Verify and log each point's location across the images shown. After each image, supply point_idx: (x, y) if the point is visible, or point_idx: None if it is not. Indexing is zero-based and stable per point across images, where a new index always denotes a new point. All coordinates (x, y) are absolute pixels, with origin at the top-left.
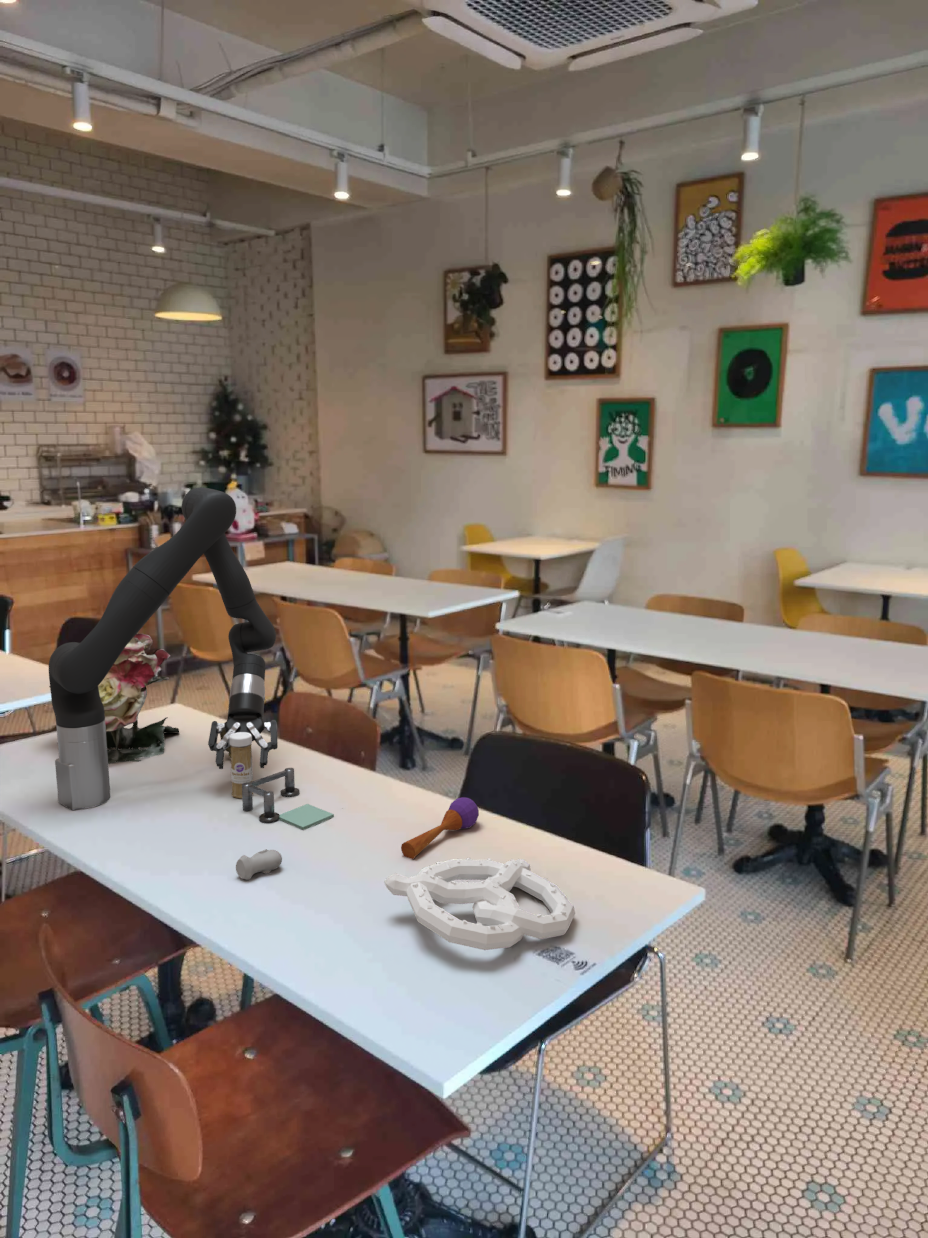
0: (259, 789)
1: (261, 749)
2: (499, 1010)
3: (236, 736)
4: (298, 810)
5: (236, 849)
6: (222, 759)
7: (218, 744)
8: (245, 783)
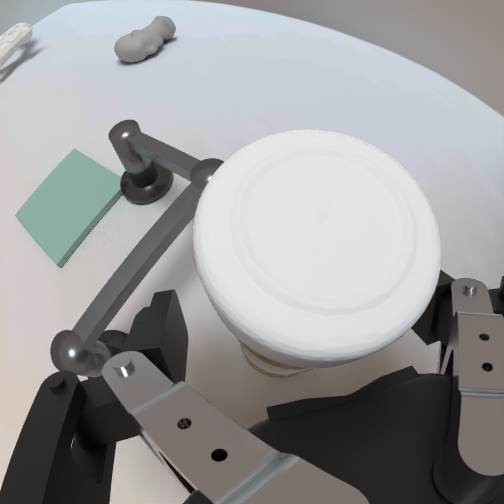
0: (154, 146)
1: (155, 344)
2: None
3: (348, 168)
4: (77, 219)
5: (194, 77)
6: None
7: (482, 290)
8: None
